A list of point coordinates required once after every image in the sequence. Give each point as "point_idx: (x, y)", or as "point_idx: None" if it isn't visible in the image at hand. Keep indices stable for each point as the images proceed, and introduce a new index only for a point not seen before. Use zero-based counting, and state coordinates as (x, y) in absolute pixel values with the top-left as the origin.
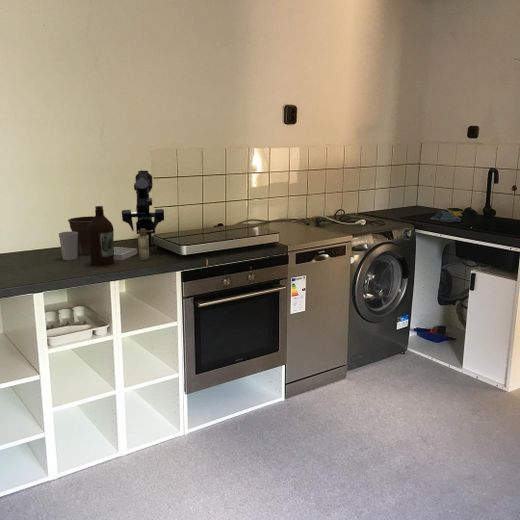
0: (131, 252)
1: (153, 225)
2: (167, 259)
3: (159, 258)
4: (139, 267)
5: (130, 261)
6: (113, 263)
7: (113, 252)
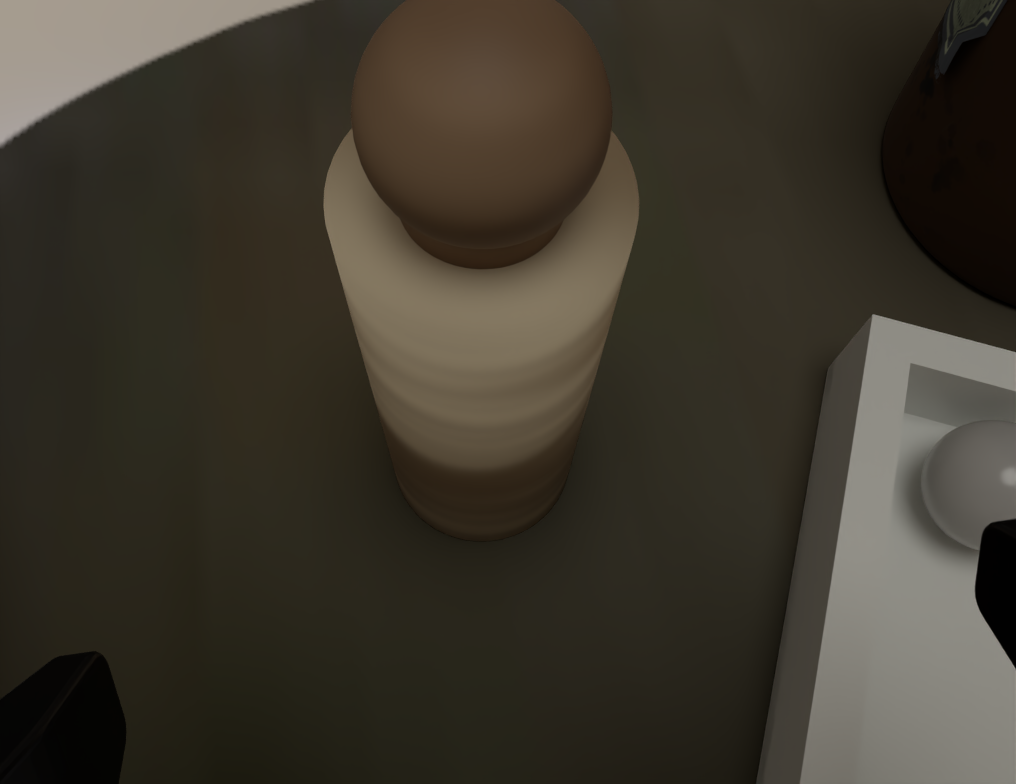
0: (802, 685)
1: (5, 764)
2: (68, 500)
3: (217, 588)
4: None
5: (696, 370)
6: (887, 156)
7: (959, 31)
